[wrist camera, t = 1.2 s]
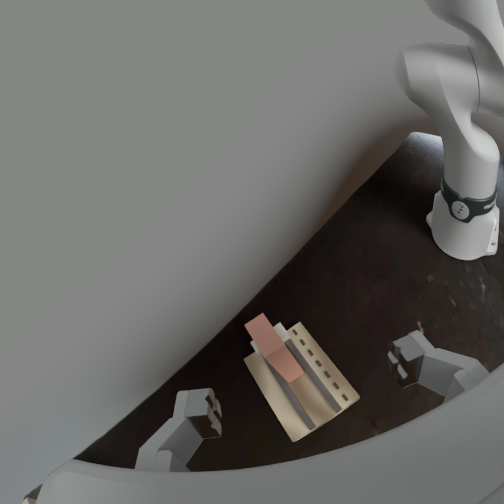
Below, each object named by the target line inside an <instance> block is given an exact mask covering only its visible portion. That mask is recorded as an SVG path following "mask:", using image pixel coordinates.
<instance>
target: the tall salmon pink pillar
mask: <svg viewBox="0 0 504 504" xmlns="http://www.w3.org/2000/svg"><path fill="white" fill-rule="evenodd" d="M245 327H246V329H247V330H248V332H249V334H250V335H251V337H252V339H253V340H254V342H255V343H256V345H257V347H258V348H259V350H260V352H261V353H262V355H263V356H264V358H265V359H266V360H267V361H268V362H269V363H270V364H271V365H272V366H273V367H274V368H275V369H276V371H277V372H278V373H279V374H280V375H281V376H282V377H283V378H284V379H285V380H286V381H287V382H288V383H291V382H292V381H294V380H295V379H297V378H298V377H300V376H301V375H303V374H304V371H303V370H302V368H301V367H300V365H299V364H298V363H297V361H296V360H295V358H294V357H293V355H292V354H291V353H290V351H289V350H288V348H287V347H286V345H285V344H284V343H283V341H282V340H281V338H280V337H279V335H278V334H277V333H276V331H275V330H274V328H273V327H272V325H271V324H270V323H269V321H268V320H267V318H266V317H265V315H264V314H263V313H262V314H260V315H259V316H257V317H256V318H254V319H253V320H251V321H250V322H248V323H247V324H245Z"/></svg>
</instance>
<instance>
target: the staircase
mask: <svg viewBox="0 0 504 504" xmlns="http://www.w3.org/2000/svg"><path fill="white" fill-rule="evenodd" d="M35 503H36V500H35V499H31V498H27V497H26V499H25V500H24V501H23V502H22V503H21V504H35Z"/></svg>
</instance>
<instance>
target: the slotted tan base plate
mask: <svg viewBox="0 0 504 504" xmlns="http://www.w3.org/2000/svg"><path fill="white" fill-rule="evenodd" d="M273 328H274V330H275V331H276V333H277V334H278V335H279V337H280V338H281V340H282V341H283V343H284V344H285V345H286V347H287V348H288V350H289V351H290V353H291V354H292V355H293V357H294V358H295V360H296V361H297V363H298V364H299V365H300V367H301V368H302V370H303V371H304V374H303V375H301V376H300V377H298V378H297V379H295V380H294V381H292V382H291V383H288V382H287V381H286V380H285V379H284V378H283V377H282V376H281V375H280V374H279V373H278V372H277V371H276V369H275V368H274V367H273V366H272V365H271V364H270V363H269V362H268V361H267V360H266V359H265V358H264V356H263V355H262V353H261V352H260V350H259V348H258V347H257V345H256V343H255V342H254V340H253V341H252V342H250V343H251V345H252V346H253V348H254V350H255V351H256V352H254V353H253V354H251V355H249V356H248V357H246V358H245V359H244V361H245V363H246V365H247V367H248V368H249V370H250V372H251V374H252V375H253V377H254V379H255V381H256V382H257V384H258V386H259V388H260V389H261V391H262V393H263V394H264V396H265V398H266V399H267V401H268V403H269V404H270V406H271V408H272V409H273V411H274V413H275V414H276V416H277V418H278V419H279V421H280V423H281V424H282V426H283V427H284V429H285V431H286V432H287V434H288V435H289V437H290V438H291V440H292V441H293V442H295V441H297V440H299V439H301V438H302V437H304V436H306V435H307V434H309V433H310V432H312V431H314V430H315V429H317V428H318V427H320V426H322V425H323V424H325V423H326V422H328V421H329V420H331V419H332V418H334V417H335V416H336V415H338V414H339V413H341V412H342V411H344V410H345V409H346V408H348V407H349V406H350V405H352V404H353V403H355V402H356V401H357V400H358V399H360V396H359V395H358V394H357V392H356V391H355V390H354V389H353V388H352V386H351V385H350V384H349V383H348V381H347V380H346V379H345V378H344V376H343V375H342V374H341V373H340V371H339V370H338V369H337V368H336V366H335V365H334V364H333V363H332V361H331V360H330V359H329V358H328V356H327V355H326V354H325V353H324V352H323V350H322V349H321V348H320V347H319V345H318V344H317V343H316V342H315V340H314V339H313V338H312V337H311V335H310V334H309V333H308V332H307V330H306V329H305V328H304V327H303V325H302V324H301V323H300V322H299V323H297V324H296V325H294V326H293V327H292V328H290V329H289V330H287V331H286V330H285V328H284V327H283V326H282V324H281V323H279V324H277V325H276V326H274V327H273Z"/></svg>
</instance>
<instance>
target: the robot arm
mask: <svg viewBox="0 0 504 504" xmlns="http://www.w3.org/2000/svg"><path fill="white" fill-rule="evenodd" d="M424 2H425V4H426V6H427V7H428V8H429V10H430V11H432V13H433V14H435V15H436V16H437V17H439V18H440V19H441V20H443V21H445V22H446V23H448V24H450V25H452V26H454V27H456V28H458V29H459V30H461V31H463V32H465V33H466V34H467V35H468V36H469V45H465V46H463V45H454V44H444V43H428V42H427V43H421V44H414V45H410V46H405V47H402V48H401V49H400V50H399V52H398V54H397V56H396V59H395V63H394V71H395V77H396V80H397V82H398V85H399V87H400V89H401V90H402V92H403V93H404V94H405V95H406V96H407V97H408V98H409V100H411V101H412V102H413V103H415V104H416V105H418V106H419V107H420V108H422V109H423V110H424V111H425V112H426V113H427V114H428V115H429V116H430V117H431V118H432V120H433V121H434V123H435V124H436V126H437V128H438V130H439V132H440V135H441V138H442V142H443V149H444V172H443V174H442V179H441V190H440V191H438V193H436V194H435V199H434V206H433V211H431V212H430V213H429V214H428V215H427V218H426V222H427V223H428V225H429V226H430V227H431V229H432V234H433V238H434V240H435V242H436V244H437V245H438V246H439V248H440V249H441V250H443V251H444V252H445V253H447V254H448V255H450V256H452V257H454V258H457V259H461V260H473V259H477V258H479V257H481V256H484V255H494V254H496V251H497V242H498V229H499V209H498V208H497V207H496V195H497V187H496V181H497V174H498V167H499V159H500V155H499V150H498V147H497V145H496V143H495V141H494V140H493V139H492V137H490V135H489V134H488V133H486V132H485V131H484V130H482V129H481V128H479V127H477V126H476V125H475V124H474V123H473V122H471V119H470V117H471V113H476V112H477V113H483V114H490V115H495V116H501V117H504V27H503V25H502V22H501V18H500V15H499V11H498V7H497V3H496V0H424ZM388 348H389V350H390V352H389V354H388V355H387V362H388V366H389V369H390V370H391V372H392V373H393V374H396V375H397V377H396V380H397V381H398V383H399V384H400V386H401V388H405V387H407V386H409V385H412V384H414V383H416V382H417V383H419V384H421V385H423V386H425V387H427V388H429V389H431V390H433V391H435V392H437V393H438V394H440V395H442V396H444V397H446V398H445V400H444V402H443V404H442V405H440V406H439V407H437V408H435V409H433V410H431V411H429V412H428V413H426V414H424V415H422V416H420V417H418V418H416V419H414V420H412V421H410V422H407V423H405V424H403V425H401V426H399V427H396V428H394V429H392V430H389V431H387V432H385V433H382V434H380V435H377V436H375V437H372V438H369V439H367V440H364V441H361V442H358V443H356V444H353V445H350V446H347V447H343V448H340V449H337V450H334V451H330V452H327V453H323V454H319V455H316V456H312V457H308V458H303V459H299V460H294V461H290V462H285V463H279V464H274V465H268V466H261V467H254V468H246V469H237V470H226V471H210V472H191V471H190V470H189V469H188V468H187V467H186V466H185V465H186V464H187V463H188V461H189V460H190V458H191V457H192V455H193V454H194V452H195V451H196V450H197V448H198V447H199V445H200V444H201V442H202V441H203V439H205V438H214V437H221V424H220V422H219V420H220V419H221V407H220V404H219V402H218V400H217V399H216V398H214V392H213V390H212V388H207V389H197V390H189V391H179V392H178V394H177V398H176V404H175V409H174V414H173V418H170V419H169V420H168V421H167V422H166V423H165V424H164V425H163V426H162V427H161V428H160V429H159V430H158V431H157V432H156V433H155V434H154V435H153V436H152V437H151V438H150V439H149V440H148V441H147V442H146V443H145V444H144V445H143V446H142V447H141V448H140V449H139V453H138V457H137V462H136V466H135V470H134V469H125V468H118V467H111V466H105V465H99V464H94V463H89V462H84V461H80V460H74V459H72V460H69V461H67V462H65V463H64V464H62V465H61V466H59V467H58V468H56V469H55V470H54V471H52V472H51V473H50V474H49V475H48V476H47V478H46V480H45V482H44V483H43V486H42V488H41V490H40V493H39V495H38V498H37V500H36V503H35V504H504V363H503V364H501V365H500V366H499V367H498V368H496V369H495V370H494V371H492V372H491V373H489V372H488V371H487V370H486V369H485V368H484V367H483V366H482V365H481V364H480V362H479V361H478V360H477V359H474V358H470V357H467V356H463V355H460V354H456V353H453V352H450V351H446V350H443V349H440V348H437V349H435V348H434V347H433V346H432V345H431V344H430V343H429V341H428V340H427V339H426V338H425V337H424V336H423V335H422V334H421V333H420V332H419V331H418V330H416V331H414V332H411V333H409V334H407V335H404V336H402V337H399V338H397V339H395V340H392V341H390V342H389V345H388Z"/></svg>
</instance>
